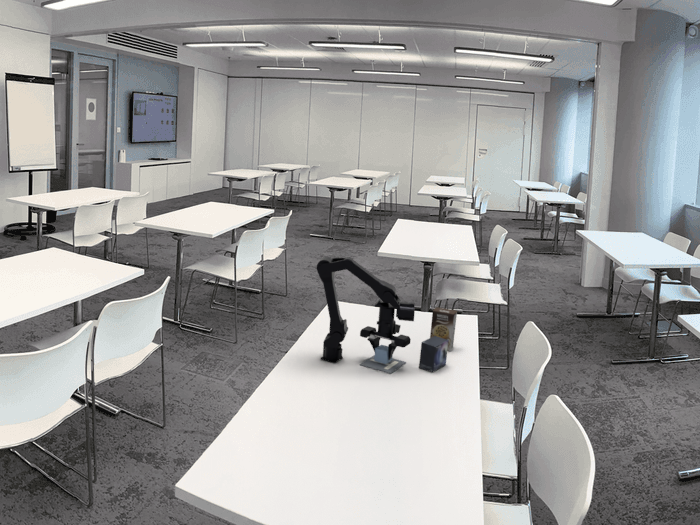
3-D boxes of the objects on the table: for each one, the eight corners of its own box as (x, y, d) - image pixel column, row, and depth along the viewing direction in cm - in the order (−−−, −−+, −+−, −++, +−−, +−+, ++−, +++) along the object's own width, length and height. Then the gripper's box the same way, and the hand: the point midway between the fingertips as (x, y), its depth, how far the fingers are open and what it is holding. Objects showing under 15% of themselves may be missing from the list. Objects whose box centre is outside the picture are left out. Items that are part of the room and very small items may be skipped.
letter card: (359, 365, 218) (359, 363, 218) (376, 354, 229) (376, 353, 229) (390, 374, 212) (390, 372, 212) (406, 363, 223) (406, 361, 223)
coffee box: (428, 347, 240) (431, 310, 237) (432, 342, 246) (435, 306, 242) (450, 352, 237) (454, 314, 233) (453, 347, 243) (457, 310, 239)
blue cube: (374, 360, 219) (375, 348, 218) (380, 356, 223) (381, 344, 222) (385, 364, 217) (386, 351, 216) (392, 360, 221) (393, 347, 220)
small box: (433, 373, 215) (435, 346, 213) (418, 368, 219) (420, 341, 216) (446, 365, 223) (449, 339, 221) (432, 360, 227) (434, 335, 225)
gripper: (418, 318, 219) (414, 357, 222) (374, 308, 228) (372, 346, 231) (405, 326, 209) (401, 366, 213) (360, 315, 218) (358, 354, 222)
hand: (383, 357), depth 220 cm, fingers closed on blue cube, 5 cm apart
